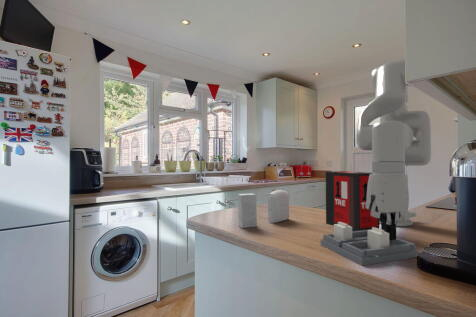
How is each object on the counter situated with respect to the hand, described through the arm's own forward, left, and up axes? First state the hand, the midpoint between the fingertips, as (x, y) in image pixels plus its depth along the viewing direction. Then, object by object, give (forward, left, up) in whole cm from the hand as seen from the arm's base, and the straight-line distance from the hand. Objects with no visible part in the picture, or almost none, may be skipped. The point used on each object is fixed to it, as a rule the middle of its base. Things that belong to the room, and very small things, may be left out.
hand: (388, 238), depth 69 cm
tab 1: (+8, -8, -2) cm, 12 cm away
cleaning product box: (-10, -25, -4) cm, 27 cm away
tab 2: (+3, 0, -2) cm, 4 cm away
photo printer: (+10, -43, -4) cm, 44 cm away
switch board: (+3, -4, -4) cm, 7 cm away
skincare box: (+25, -39, -4) cm, 47 cm away
